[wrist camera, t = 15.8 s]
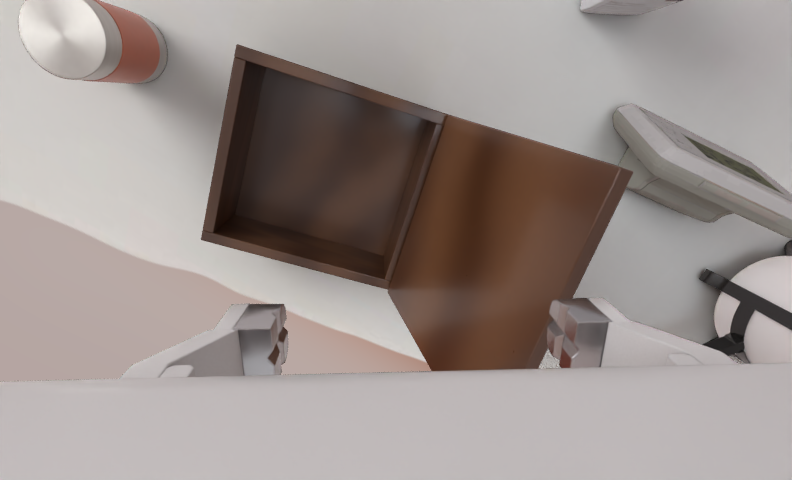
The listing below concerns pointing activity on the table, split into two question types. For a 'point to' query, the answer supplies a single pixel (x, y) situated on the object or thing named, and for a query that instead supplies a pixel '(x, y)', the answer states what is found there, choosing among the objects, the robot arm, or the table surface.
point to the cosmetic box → (623, 6)
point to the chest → (318, 169)
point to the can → (92, 41)
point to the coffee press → (755, 311)
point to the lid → (498, 245)
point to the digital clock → (697, 173)
